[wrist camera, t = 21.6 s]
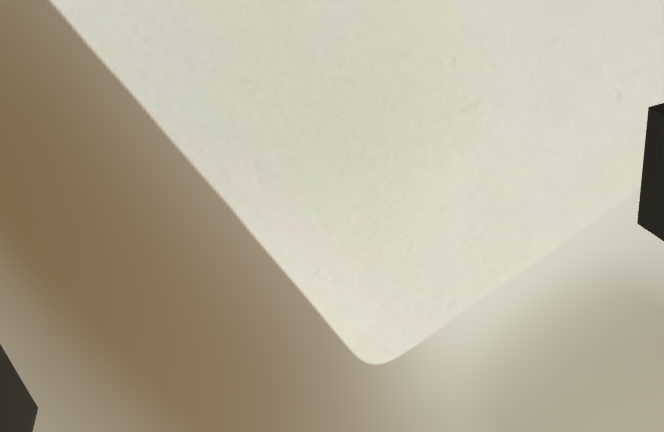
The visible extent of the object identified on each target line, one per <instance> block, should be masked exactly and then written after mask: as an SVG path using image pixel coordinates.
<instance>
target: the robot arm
mask: <svg viewBox="0 0 664 432" xmlns="http://www.w3.org/2000/svg"><path fill="white" fill-rule="evenodd" d="M638 224H639V225H641V226H642V227H643V228H645V229H646V230H648V231H650V232H651V233H652V234H654V235H656V236H657V237H658V238H660V239H661V240H663V241H664V103H662V104H659V105H655V106H651V107H649V110H648V120H647V130H646V140H645V151H644V161H643V171H642V181H641V192H640V202H639V212H638ZM37 409H38V407H37V405H36V404H35V402H34V400H33V399H32V397H31V395H30V394H29V392H28V390H27V389H26V387H25V385H24V384H23V382H22V380H21V379H20V377H19V375H18V373H17V372H16V370H15V368H14V367H13V365H12V363H11V362H10V360H9V358H8V357H7V355H6V353H5V351H4V350H3V348H2V346H1V345H0V432H32V431H33V426H34V423H35V418H36V414H37Z"/></svg>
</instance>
